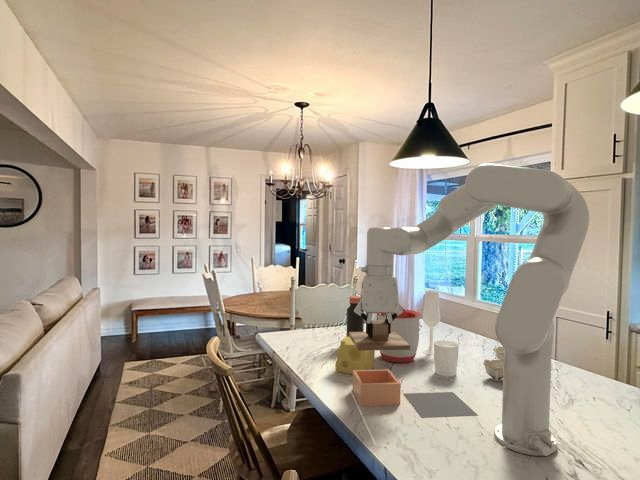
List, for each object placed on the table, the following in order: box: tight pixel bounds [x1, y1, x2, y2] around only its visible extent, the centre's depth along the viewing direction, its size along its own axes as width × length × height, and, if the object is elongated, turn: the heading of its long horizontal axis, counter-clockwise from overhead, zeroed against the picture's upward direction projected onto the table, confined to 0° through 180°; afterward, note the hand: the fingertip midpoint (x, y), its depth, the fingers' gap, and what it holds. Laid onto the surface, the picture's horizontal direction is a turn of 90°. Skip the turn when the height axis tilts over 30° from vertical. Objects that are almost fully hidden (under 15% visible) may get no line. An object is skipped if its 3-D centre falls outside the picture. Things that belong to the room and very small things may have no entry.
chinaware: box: [482, 346, 505, 383], centre depth 135 cm, size 28×17×17 cm, turn 151°
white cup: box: [433, 340, 460, 377], centre depth 135 cm, size 8×8×10 cm
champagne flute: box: [421, 289, 442, 356], centre depth 158 cm, size 7×7×24 cm
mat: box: [403, 391, 479, 419], centre depth 111 cm, size 15×15×1 cm
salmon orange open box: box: [351, 369, 402, 407], centre depth 115 cm, size 11×11×6 cm
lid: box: [349, 319, 410, 351], centre depth 114 cm, size 14×14×6 cm
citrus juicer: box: [376, 306, 421, 364], centre depth 150 cm, size 16×17×20 cm
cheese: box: [334, 336, 376, 375], centre depth 137 cm, size 10×11×10 cm
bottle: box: [346, 295, 365, 337], centre depth 165 cm, size 7×7×20 cm
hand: (378, 335), depth 114 cm, fingers closed on lid, 4 cm apart
